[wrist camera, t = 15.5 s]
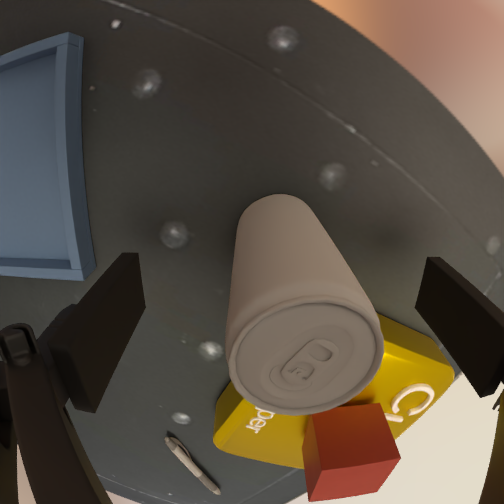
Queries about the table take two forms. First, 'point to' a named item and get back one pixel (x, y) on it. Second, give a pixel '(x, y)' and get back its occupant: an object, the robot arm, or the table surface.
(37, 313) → the table surface
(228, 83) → the table surface
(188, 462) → the pen
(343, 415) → the red block
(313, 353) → the beverage can
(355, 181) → the table surface
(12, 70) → the slate tray
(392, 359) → the element tile
